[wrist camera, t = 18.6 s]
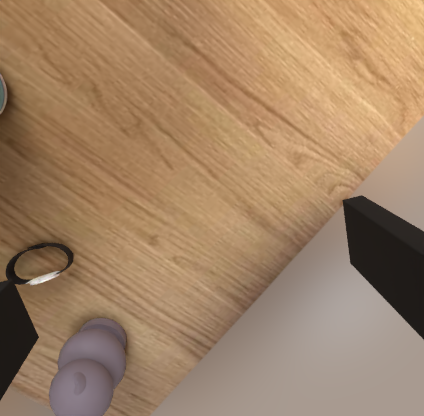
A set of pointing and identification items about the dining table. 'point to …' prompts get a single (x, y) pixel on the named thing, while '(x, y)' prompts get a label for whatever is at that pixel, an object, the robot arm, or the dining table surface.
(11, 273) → the watch
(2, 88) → the beverage can
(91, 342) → the cat figurine
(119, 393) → the dining table surface
